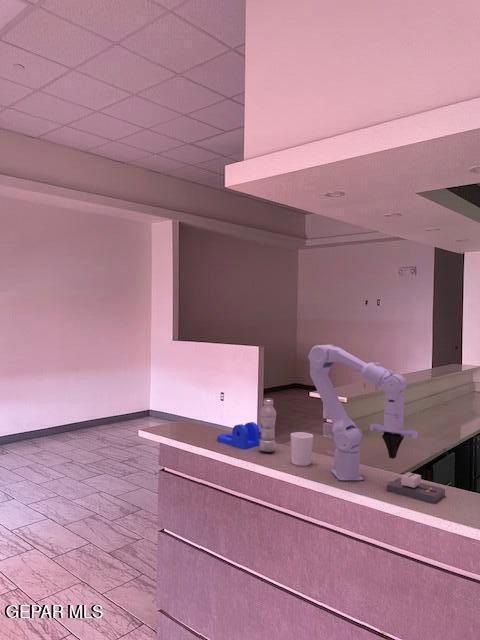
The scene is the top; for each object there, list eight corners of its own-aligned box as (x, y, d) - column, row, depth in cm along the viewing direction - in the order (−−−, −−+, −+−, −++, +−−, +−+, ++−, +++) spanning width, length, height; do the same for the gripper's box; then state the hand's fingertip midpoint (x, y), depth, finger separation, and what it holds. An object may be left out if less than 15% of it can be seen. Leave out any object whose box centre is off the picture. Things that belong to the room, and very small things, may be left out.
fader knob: (401, 484, 147) (401, 475, 147) (407, 480, 150) (408, 471, 150) (414, 487, 144) (414, 478, 144) (420, 483, 148) (420, 475, 148)
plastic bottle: (275, 449, 189) (277, 398, 189) (275, 454, 183) (276, 401, 182) (259, 448, 190) (260, 397, 190) (257, 453, 183) (259, 400, 183)
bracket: (258, 446, 195) (259, 423, 194) (244, 450, 189) (244, 426, 189) (227, 437, 207) (228, 416, 207) (213, 440, 201) (213, 418, 201)
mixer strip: (386, 490, 148) (386, 484, 148) (399, 483, 154) (399, 477, 154) (433, 503, 138) (434, 496, 138) (444, 495, 145) (445, 488, 145)
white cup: (285, 461, 175) (286, 433, 175) (303, 458, 179) (304, 431, 179) (298, 467, 168) (298, 438, 168) (316, 464, 172) (317, 436, 172)
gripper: (422, 415, 149) (420, 459, 149) (377, 408, 159) (376, 450, 159) (413, 418, 144) (411, 464, 144) (367, 411, 154) (366, 454, 154)
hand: (392, 457), depth 151 cm, fingers closed
